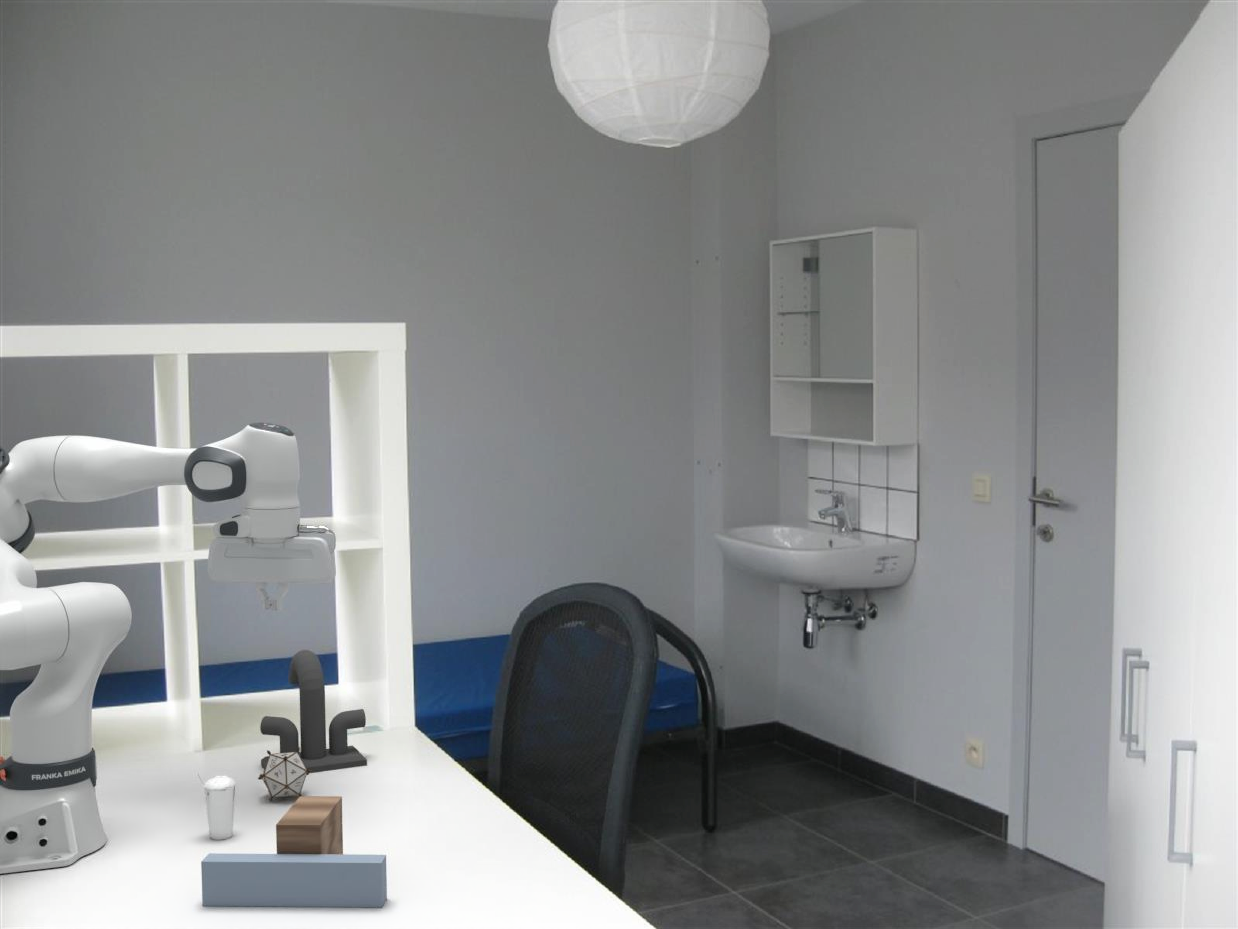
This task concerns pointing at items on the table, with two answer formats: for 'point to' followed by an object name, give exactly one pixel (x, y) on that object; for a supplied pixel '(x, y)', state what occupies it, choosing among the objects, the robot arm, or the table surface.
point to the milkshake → (220, 806)
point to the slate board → (294, 880)
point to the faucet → (315, 722)
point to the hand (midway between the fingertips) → (272, 609)
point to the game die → (284, 774)
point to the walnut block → (311, 826)
